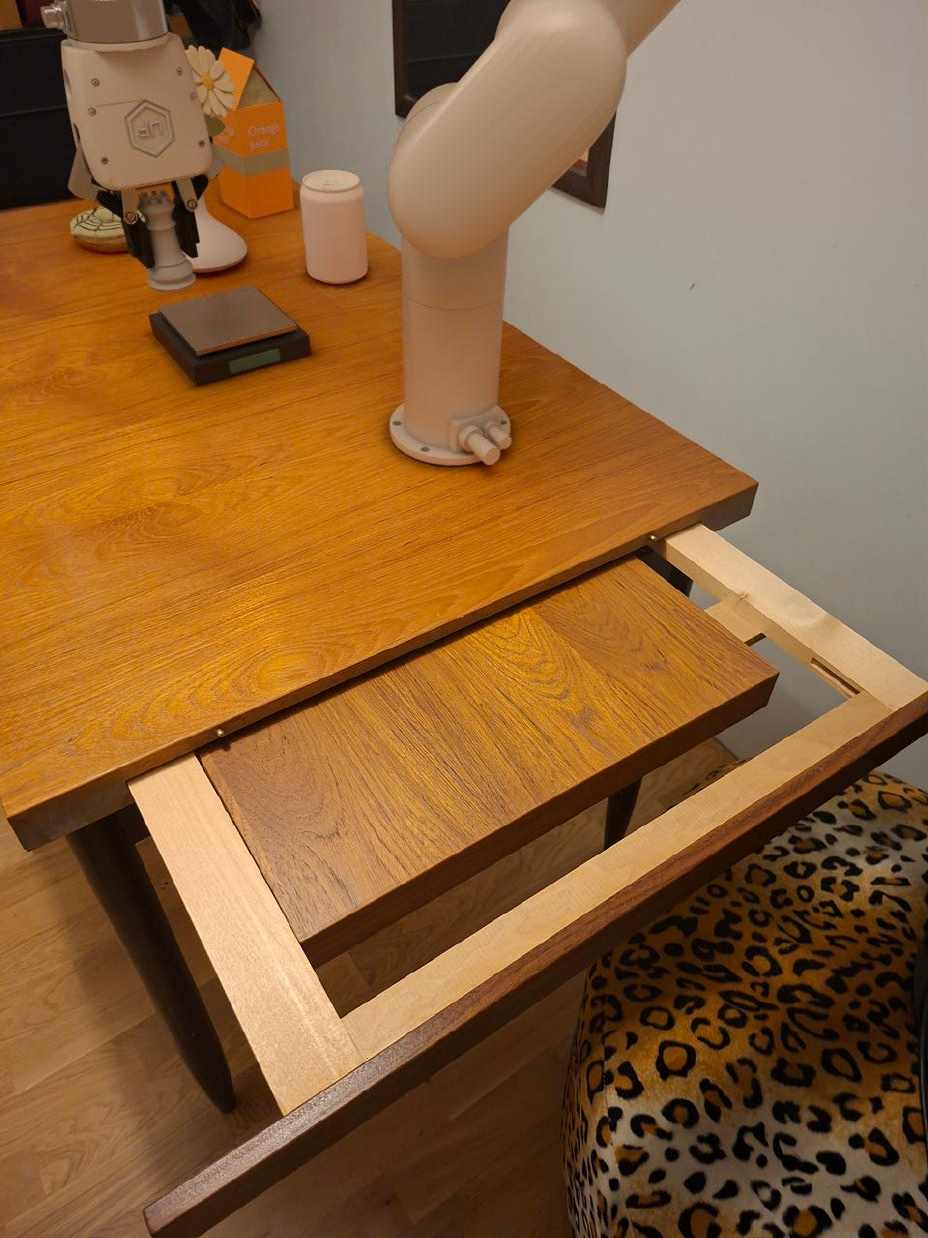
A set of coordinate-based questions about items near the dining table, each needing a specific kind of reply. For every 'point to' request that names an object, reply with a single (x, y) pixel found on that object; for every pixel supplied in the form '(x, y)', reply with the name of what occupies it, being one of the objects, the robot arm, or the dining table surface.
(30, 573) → the dining table surface
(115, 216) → the decorated donut
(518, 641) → the dining table surface
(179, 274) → the rook chess piece
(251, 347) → the scale
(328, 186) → the beverage can
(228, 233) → the flower in vase
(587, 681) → the dining table surface
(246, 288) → the platter
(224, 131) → the orange juice
